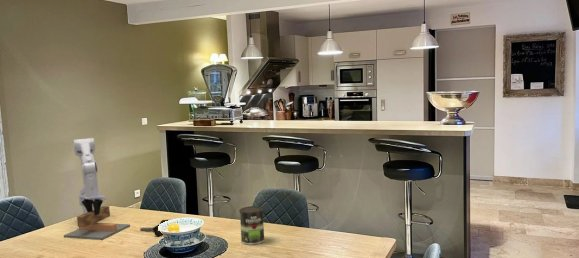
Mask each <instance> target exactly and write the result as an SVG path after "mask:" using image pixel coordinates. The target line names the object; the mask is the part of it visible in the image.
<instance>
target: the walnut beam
mask: <svg viewBox="0 0 579 258" xmlns="http://www.w3.org/2000/svg"><path fill="white" fill-rule="evenodd" d="M110 217H111V211H110V206H107V205H106V206H105V205H104V206H102V207H100V212H99V214H98V215H95V211H94V210H92V211H90V212H87V213H85V214H83V213H82V214H79V215H77V216H76V220H77V221H76V222H77V227H78V228H79V227H86V226H88V225H90V224H93V223H95V222H96V223H98V222H100V221H102V220H104V219H107V218H110Z"/></svg>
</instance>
